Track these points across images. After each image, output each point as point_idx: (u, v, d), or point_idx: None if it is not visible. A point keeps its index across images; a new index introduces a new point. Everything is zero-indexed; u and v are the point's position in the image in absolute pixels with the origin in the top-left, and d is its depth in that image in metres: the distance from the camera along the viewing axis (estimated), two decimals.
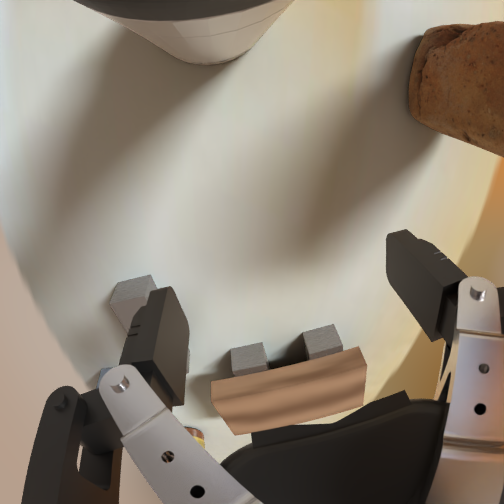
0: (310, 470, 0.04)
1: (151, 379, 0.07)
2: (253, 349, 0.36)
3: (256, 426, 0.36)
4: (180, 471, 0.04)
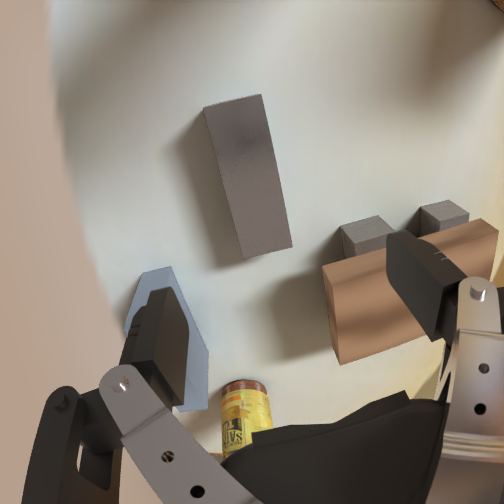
0: (310, 470, 0.04)
1: (151, 379, 0.07)
2: (371, 222, 0.27)
3: (373, 344, 0.27)
4: (180, 471, 0.04)
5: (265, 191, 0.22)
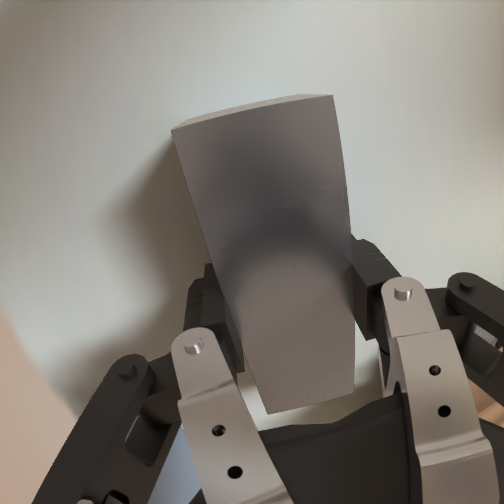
0: (310, 470, 0.04)
1: (222, 341, 0.08)
2: None
3: None
4: (225, 448, 0.04)
5: (322, 323, 0.10)
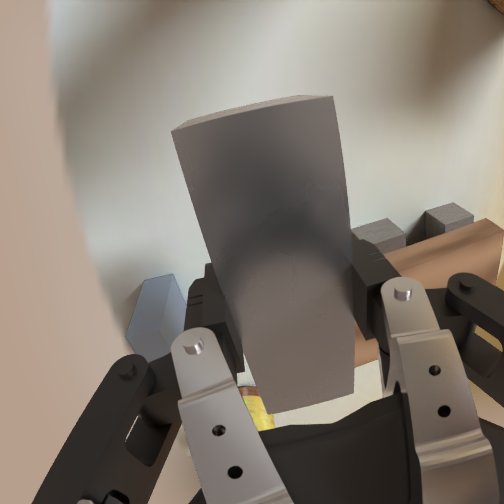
0: (310, 470, 0.04)
1: (223, 341, 0.08)
2: (380, 224, 0.27)
3: None
4: (225, 448, 0.04)
5: (322, 324, 0.10)
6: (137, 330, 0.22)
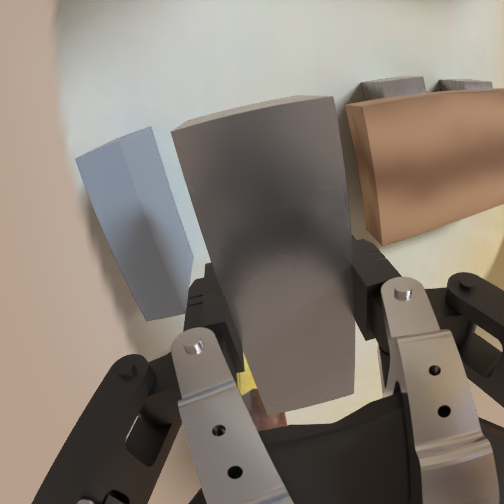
0: (310, 470, 0.04)
1: (223, 341, 0.08)
2: None
3: (420, 214, 0.20)
4: (225, 448, 0.04)
5: (322, 324, 0.10)
6: (92, 151, 0.15)
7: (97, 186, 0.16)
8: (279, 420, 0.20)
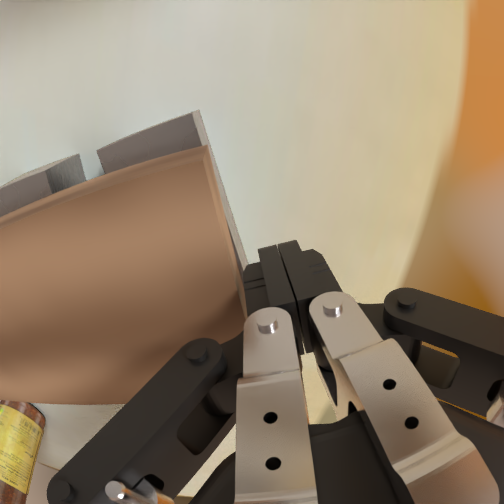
0: None
1: (292, 321, 0.08)
2: (53, 163, 0.13)
3: (12, 385, 0.12)
4: (272, 437, 0.04)
5: None
6: None
7: None
8: (2, 501, 0.12)
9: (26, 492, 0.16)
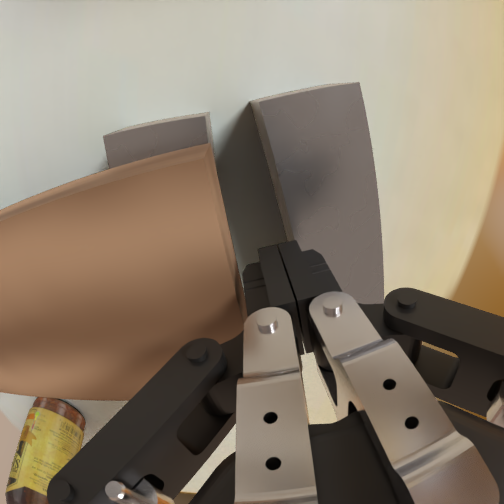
0: None
1: (292, 321, 0.08)
2: (182, 116, 0.13)
3: (8, 377, 0.12)
4: (272, 437, 0.04)
5: None
6: None
7: None
8: None
9: None
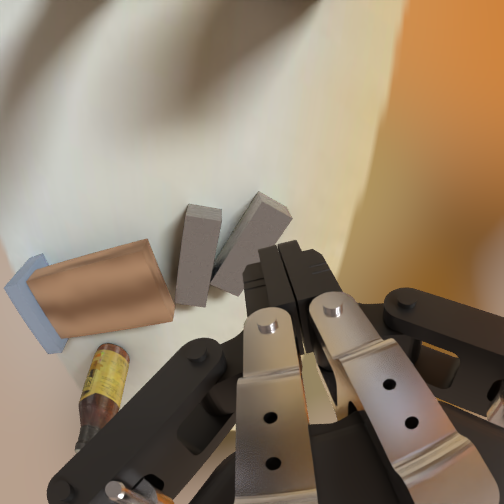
0: None
1: (292, 322, 0.08)
2: (211, 210, 0.36)
3: (73, 327, 0.36)
4: (271, 437, 0.04)
5: None
6: (9, 284, 0.31)
7: (14, 299, 0.31)
8: (106, 411, 0.35)
9: (119, 407, 0.39)
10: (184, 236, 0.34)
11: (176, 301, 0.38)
